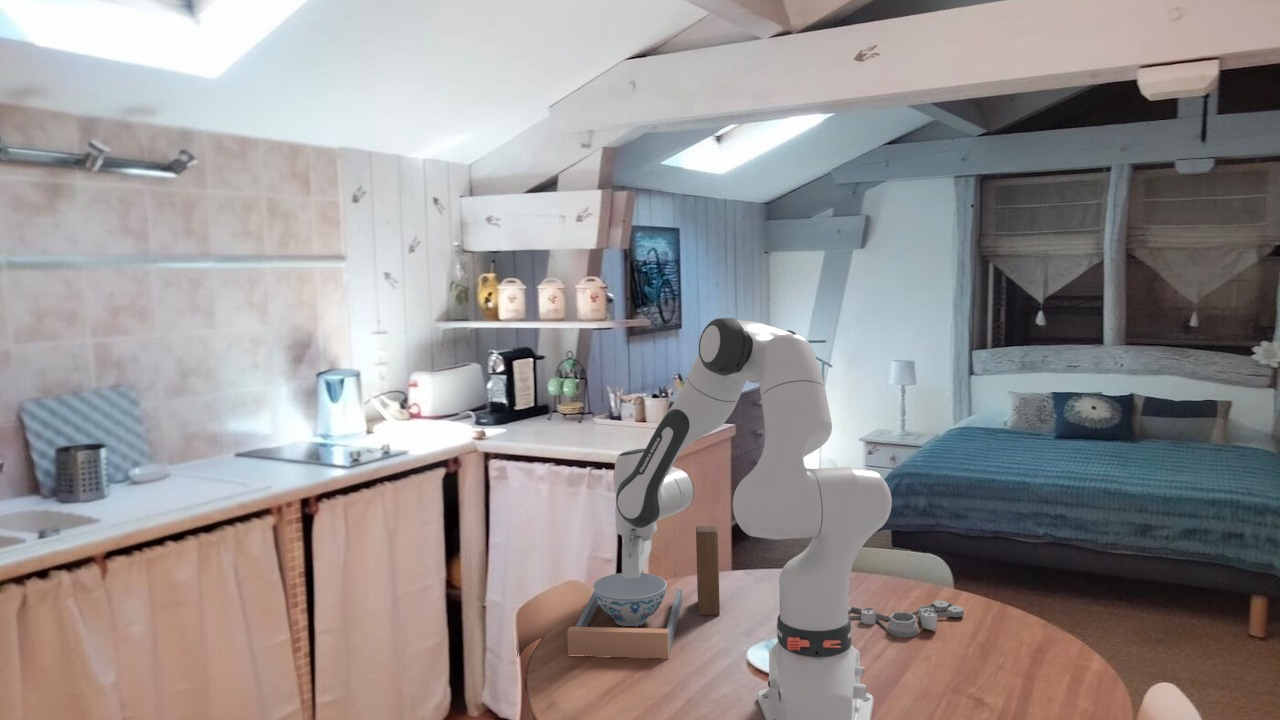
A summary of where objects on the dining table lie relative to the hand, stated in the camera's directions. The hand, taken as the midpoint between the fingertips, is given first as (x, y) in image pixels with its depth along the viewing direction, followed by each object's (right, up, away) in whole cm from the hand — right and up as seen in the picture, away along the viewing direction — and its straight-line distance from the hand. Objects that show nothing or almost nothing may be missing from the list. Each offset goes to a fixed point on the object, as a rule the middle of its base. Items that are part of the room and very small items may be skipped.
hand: (638, 585), depth 198 cm
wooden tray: (-2, -5, -12) cm, 14 cm away
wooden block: (+15, -4, -4) cm, 16 cm away
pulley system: (+52, -5, -15) cm, 55 cm away
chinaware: (-1, -5, -9) cm, 11 cm away
